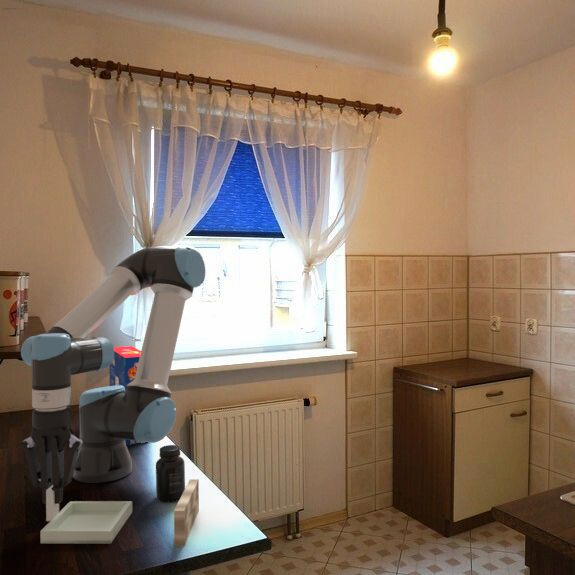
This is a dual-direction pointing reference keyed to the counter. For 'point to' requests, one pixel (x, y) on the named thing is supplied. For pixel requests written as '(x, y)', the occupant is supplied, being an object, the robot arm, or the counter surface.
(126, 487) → the counter surface
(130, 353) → the pasta box
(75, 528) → the sliding tray
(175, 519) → the backstop wall
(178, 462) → the supplement bottle
